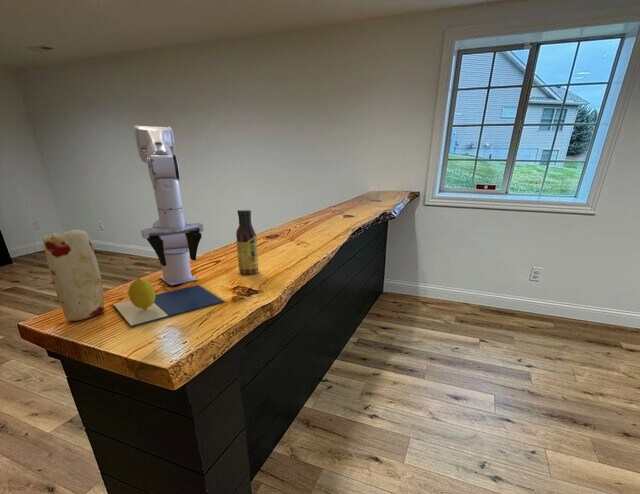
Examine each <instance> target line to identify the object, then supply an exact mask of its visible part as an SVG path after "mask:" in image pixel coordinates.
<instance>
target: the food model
mask: <svg viewBox="0 0 640 494" xmlns="http://www.w3.org/2000/svg"><path fill="white" fill-rule="evenodd" d="M42 243H43V248H44V253H45V258H46V262H47V266H48V270H49V274H50V278H51V281H52V284H53V287H54V290H55V294H56V296H57V299H58V301H59V303H60V307H61V309H62V312H63V315H64V317H65V319H66V321H69V322H71V321H75V322H77V321H82V320H86V319H88V318H91V317H94V316H97V315H99V314H101V313H103V312H104V311H105V300H104V299H105V298H104V290H103V289H104V288H103V281H102V276H101V271H100V267H99V263H98V260H97V256H96V253H95V251H94V247H93V245H92V242H91V238H90V237H89V234H88V233H87V231H86V230H82V229H72V230H67V231H64V232H63V231H62V232H60V233H57V232H52V233H50V234H48V235H45V236H44V237H43V239H42Z"/></svg>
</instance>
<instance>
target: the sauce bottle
mask: <svg viewBox="0 0 640 494" xmlns="http://www.w3.org/2000/svg"><path fill="white" fill-rule="evenodd" d="M237 216H238V227H237V229H236V231H235V237H236V253H237V263H238V264H237V265H238V270H239V273H240V275H247V276H248V275H255V274H257V273H258V272H259V256H258V242H257V233H256V232H255V229H254V227H253V224H252V210H251V209H247V208H246V209H238V210H237Z"/></svg>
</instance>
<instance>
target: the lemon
mask: <svg viewBox="0 0 640 494" xmlns="http://www.w3.org/2000/svg"><path fill="white" fill-rule="evenodd" d="M155 295H156V291H155V288H154V286H153V284H152V283H151V282H150V281H148V280H146V279H142V277H141V278H140V277H138V278H136V279H135V280H134V281H132V282H131V283H130V285H129V287H128V297H129V300H131V302H132V303H133V305H135V306H136V307H138V308H142V309H144V310H147V309H148V307H150V306H151V305H152V304H153V303H154V301H155Z"/></svg>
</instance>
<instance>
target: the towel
mask: <svg viewBox="0 0 640 494" xmlns="http://www.w3.org/2000/svg"><path fill="white" fill-rule="evenodd" d="M223 303H225V302H224V300H223V299H221V298H220V297H218V296H217V295H215V294H213V293H211V292H210V291H209V290H207V289H205V288H203V287H202V286H200V285H199V284H197V285H193V286H188V287H183V288H178V289H174V290H170V291H166V292H161V293H157V294H156V293H155V301H154V303H153V304H152V305H151V306H150V307H148V309H147V310H144V309H142V308H138V307H136V306H135V305H133V303H132V302H131V300H130V299H129V300H125V301H119V302H116V303H112V304H113V307H114V308H115V309H116V310H117V312H118V313H119V314H120V315H121V317H122V318H123V319H124V320H125V321H126V323H127V324H128V325H129V326H130V328H133V327H138V326H141V325H144V324H149V323H152V322H155V321H160V320H163V319H167V318H170V317H174V316H179V315H181V314H185V313H189V312H192V311H196V310H200V309H203V308H208V307H212V306H215V305H219V304H223Z"/></svg>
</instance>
